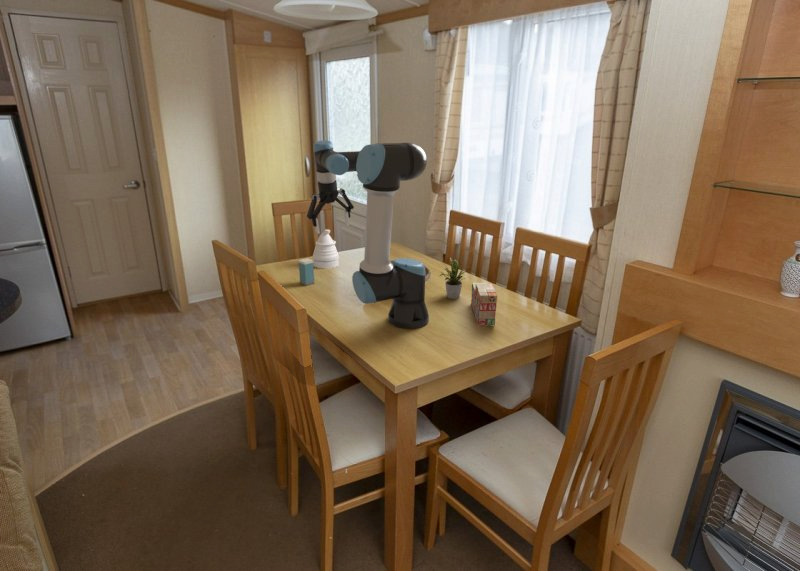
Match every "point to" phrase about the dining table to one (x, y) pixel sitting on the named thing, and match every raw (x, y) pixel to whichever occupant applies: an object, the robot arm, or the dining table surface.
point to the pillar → (306, 272)
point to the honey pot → (325, 252)
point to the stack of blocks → (484, 303)
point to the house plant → (453, 280)
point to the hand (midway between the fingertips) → (332, 229)
